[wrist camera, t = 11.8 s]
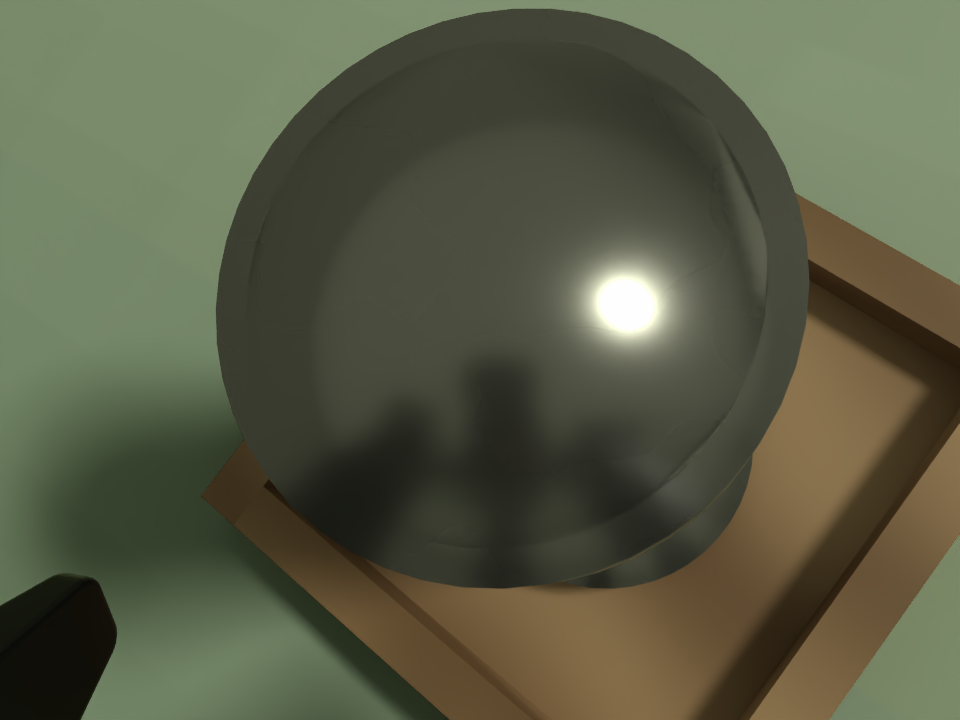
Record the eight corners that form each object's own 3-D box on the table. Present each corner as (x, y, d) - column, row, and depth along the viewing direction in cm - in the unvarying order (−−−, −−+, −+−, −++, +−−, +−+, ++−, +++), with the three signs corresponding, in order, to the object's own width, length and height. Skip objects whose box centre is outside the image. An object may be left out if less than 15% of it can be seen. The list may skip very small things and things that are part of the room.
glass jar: (518, 623, 17) (262, 719, 7) (440, 365, 19) (135, 122, 8) (794, 535, 16) (983, 493, 6) (689, 273, 18) (695, -121, 8)
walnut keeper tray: (681, 897, 16) (681, 928, 15) (233, 500, 20) (201, 496, 18) (1052, 372, 17) (1085, 355, 15) (549, 83, 20) (539, 48, 19)
